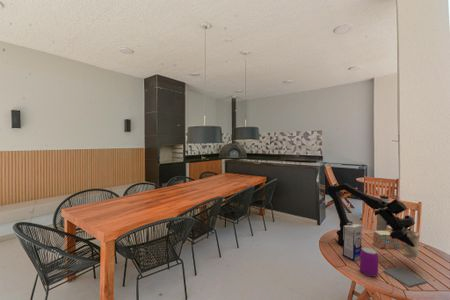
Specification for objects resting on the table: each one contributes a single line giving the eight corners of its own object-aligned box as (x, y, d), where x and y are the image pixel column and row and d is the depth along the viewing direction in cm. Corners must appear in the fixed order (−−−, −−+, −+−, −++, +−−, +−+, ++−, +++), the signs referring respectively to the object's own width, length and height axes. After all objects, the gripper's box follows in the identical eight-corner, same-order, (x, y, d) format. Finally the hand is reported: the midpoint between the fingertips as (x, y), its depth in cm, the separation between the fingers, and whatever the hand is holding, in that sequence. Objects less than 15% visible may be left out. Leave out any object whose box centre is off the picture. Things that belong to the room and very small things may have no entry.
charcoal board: (408, 287, 97) (408, 285, 97) (383, 271, 108) (383, 270, 108) (426, 282, 100) (426, 281, 100) (400, 268, 112) (400, 266, 111)
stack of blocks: (380, 249, 131) (380, 230, 131) (372, 244, 138) (373, 226, 137) (412, 248, 132) (413, 229, 132) (403, 243, 138) (404, 225, 138)
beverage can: (356, 270, 110) (357, 248, 109) (365, 266, 113) (366, 245, 112) (371, 279, 103) (372, 255, 102) (381, 275, 106) (381, 252, 105)
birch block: (403, 255, 111) (404, 232, 111) (406, 252, 114) (407, 229, 114) (415, 260, 107) (417, 235, 107) (418, 257, 110) (419, 233, 110)
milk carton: (353, 261, 118) (354, 227, 117) (342, 255, 124) (343, 222, 123) (361, 258, 121) (362, 224, 120) (349, 252, 127) (350, 220, 126)
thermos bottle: (392, 235, 151) (393, 197, 149) (386, 237, 147) (387, 198, 146) (380, 230, 158) (381, 194, 156) (374, 233, 154) (375, 195, 153)
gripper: (398, 215, 107) (427, 244, 99) (407, 207, 118) (433, 233, 110) (379, 225, 114) (404, 253, 105) (389, 217, 125) (413, 242, 117)
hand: (414, 245), depth 109 cm, fingers closed on birch block, 5 cm apart
